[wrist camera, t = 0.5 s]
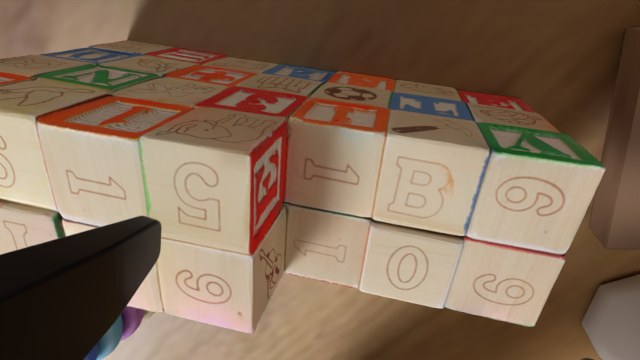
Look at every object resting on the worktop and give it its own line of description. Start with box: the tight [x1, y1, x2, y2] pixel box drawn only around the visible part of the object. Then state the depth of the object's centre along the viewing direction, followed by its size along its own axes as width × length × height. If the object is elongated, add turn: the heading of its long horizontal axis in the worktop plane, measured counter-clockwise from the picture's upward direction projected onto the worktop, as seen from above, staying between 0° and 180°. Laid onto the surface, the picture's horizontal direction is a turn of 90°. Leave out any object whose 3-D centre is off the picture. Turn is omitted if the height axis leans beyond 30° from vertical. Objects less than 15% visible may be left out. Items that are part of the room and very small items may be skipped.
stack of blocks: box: [0, 40, 605, 333], centre depth 16 cm, size 21×6×12 cm, turn 85°
